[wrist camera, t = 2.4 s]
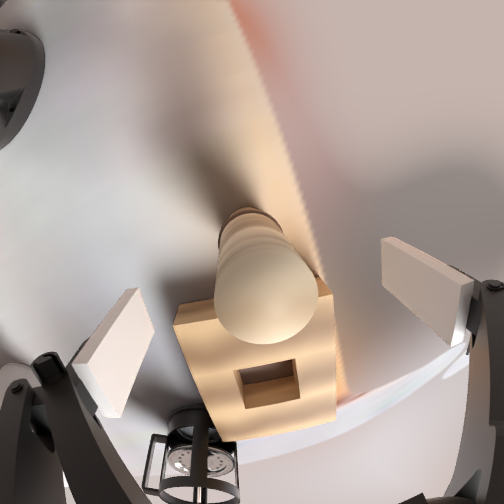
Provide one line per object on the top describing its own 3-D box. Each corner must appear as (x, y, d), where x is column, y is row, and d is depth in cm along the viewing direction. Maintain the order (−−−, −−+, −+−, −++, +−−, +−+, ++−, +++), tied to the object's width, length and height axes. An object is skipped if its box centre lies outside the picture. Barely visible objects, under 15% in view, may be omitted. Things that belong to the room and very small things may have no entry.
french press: (245, 407, 32) (263, 579, 10) (239, 445, 35) (250, 583, 13) (152, 398, 31) (118, 565, 9) (159, 438, 33) (140, 574, 12)
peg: (215, 208, 25) (197, 259, 12) (269, 197, 25) (315, 236, 12) (226, 260, 26) (224, 355, 13) (278, 249, 26) (324, 333, 13)
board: (179, 304, 27) (172, 325, 24) (319, 276, 28) (332, 294, 24) (222, 419, 33) (223, 442, 29) (327, 398, 33) (335, 420, 29)
